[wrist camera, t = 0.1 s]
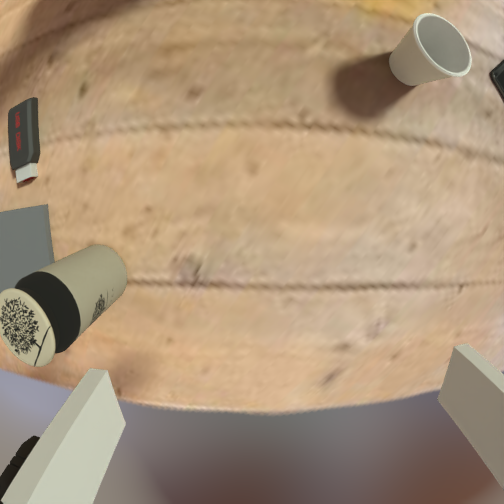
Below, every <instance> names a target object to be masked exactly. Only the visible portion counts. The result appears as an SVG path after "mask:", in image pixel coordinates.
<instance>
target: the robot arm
mask: <svg viewBox="0 0 504 504" xmlns="http://www.w3.org/2000/svg"><path fill="white" fill-rule="evenodd" d="M437 400H438V401H439V402H440V404H441V405H442V406H443V408H444V409H445V410H446V411H447V413H448V414H449V415H450V417H451V418H452V419H453V420H454V422H455V423H456V424H457V426H458V427H459V428H460V430H461V431H462V432H463V434H464V435H465V436H466V438H467V439H468V440H469V442H470V443H471V444H472V446H473V447H474V449H475V450H476V451H477V453H478V454H479V455H480V457H481V458H482V460H483V461H484V463H485V464H486V465H487V467H488V468H489V470H490V471H491V472H492V474H493V475H494V477H495V478H496V480H497V481H498V482H499V484H500V485H501V487H502V488H503V490H504V375H503V374H502V373H501V372H500V371H499V370H498V369H497V368H496V367H494V366H493V365H492V364H491V363H490V362H489V361H488V360H486V359H485V358H484V357H483V356H482V355H481V354H479V353H478V352H477V351H476V350H475V349H474V348H472V347H471V346H470V345H469V344H468V343H466V344H462V345H458V346H454V348H453V352H452V355H451V359H450V362H449V366H448V369H447V372H446V375H445V379H444V382H443V385H442V388H441V391H440V394H439V396H438V399H437ZM125 425H126V423H125V421H124V418H123V415H122V412H121V410H120V407H119V404H118V401H117V398H116V395H115V392H114V389H113V386H112V383H111V380H110V377H109V374H108V370H101V369H92V368H90V369H89V370H88V371H87V373H86V374H85V376H84V377H83V378H82V380H81V381H80V382H79V384H78V385H77V386H76V388H75V389H74V391H73V392H72V393H71V395H70V396H69V398H68V399H67V400H66V402H65V403H64V404H63V406H62V407H61V409H60V410H59V412H58V413H57V414H56V416H55V417H54V419H53V420H52V422H51V423H50V424H49V426H48V427H47V429H46V430H45V432H44V433H43V435H42V436H41V438H40V437H37V436H33V437H31V438H30V439H28V440H27V441H25V442H24V443H23V444H22V445H21V447H20V448H19V450H18V451H17V452H16V456H14V457H13V458H12V460H11V461H10V465H8V466H7V467H6V469H5V470H4V472H3V473H2V475H1V476H0V504H93V501H94V498H95V496H96V493H97V491H98V489H99V486H100V484H101V481H102V479H103V476H104V474H105V471H106V469H107V467H108V464H109V462H110V459H111V457H112V455H113V452H114V450H115V448H116V445H117V443H118V441H119V438H120V436H121V434H122V431H123V429H124V427H125Z"/></svg>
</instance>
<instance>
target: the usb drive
mask: <svg viewBox="0 0 504 504" xmlns="http://www.w3.org/2000/svg"><path fill="white" fill-rule="evenodd" d="M8 134H9V153H10V164H11V167H12V170H16V179H17V183H22V182H25V181H27V180H30V179H32V178H34V177H37V176H38V172H37V163H38V160H39V156H40V144H39V128H38V98H34V97H33V98H30V99H27V100H25V101H23V102H22V103H20V104H18V105H17V106H15V107H13V108H11V109H10V110H9V113H8Z"/></svg>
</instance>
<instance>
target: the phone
mask: <svg viewBox="0 0 504 504" xmlns="http://www.w3.org/2000/svg"><path fill="white" fill-rule="evenodd" d="M491 78H492V80H493V81H494V83H495V85H496V87H497V88H498V90H499V92H500V93H501V95H502V97H503V99H504V60H503V61H502V62H501V63H500V64H499V65H498V66H497V67H495V68H494V69H493V70H492V71H491Z"/></svg>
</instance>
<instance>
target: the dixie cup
mask: <svg viewBox="0 0 504 504" xmlns="http://www.w3.org/2000/svg"><path fill="white" fill-rule="evenodd" d="M389 65H390V69H391V71H392V73H393V74H394V76H395V77H396V78H397V79H398V80H399V81H401V82H402V83H404V84H406V85H409V86H416V85H420V84H424V83H428V82H432V81H436V80H440V79H444V78H449V77H461V76H464V75H465V74H467V73H468V71H469V70H470V67H471V54H470V50H469V47H468V45H467V43H466V41H465V39H464V37H463V36H462V34H461V33H460V32H459V31H458V29H457V28H456V27H455V26H454V25H452V24H451V23H450V22H449V21H447V20H446V19H444V18H442V17H440V16H438V15H435V14H430V13H425V14H421V15H419V16H418V17H417V18H416V19H415V21H414V23H413V26H412V27H411V28H410V30H409V31H408V32H407V34H406V35H405V36H404V38H403V39H402V40H401V42H400V43H399V44H398V46H397V47H396V48H395V49H394V51H393V52H392V54H391V55H390V57H389Z"/></svg>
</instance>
